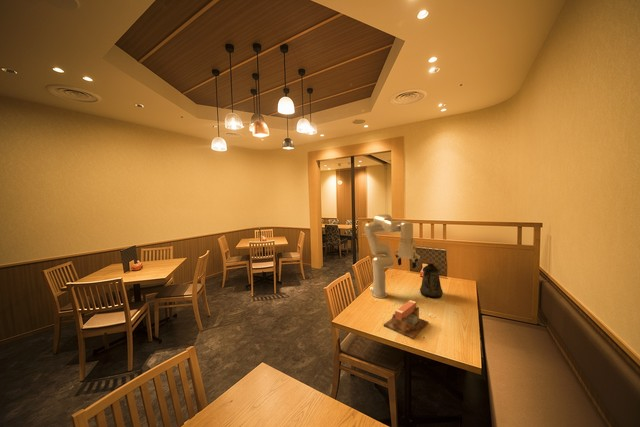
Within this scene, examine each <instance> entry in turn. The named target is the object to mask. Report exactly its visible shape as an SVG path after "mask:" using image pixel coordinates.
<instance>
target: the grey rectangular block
mask: <svg viewBox="0 0 640 427" xmlns="http://www.w3.org/2000/svg"><path fill="white" fill-rule="evenodd" d="M407 323H408V324H411V325H413V326H416V325H417V316H414V315H412V314H410V315H408V316H407Z"/></svg>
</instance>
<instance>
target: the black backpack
mask: <svg viewBox="0 0 640 427" xmlns="http://www.w3.org/2000/svg"><path fill="white" fill-rule="evenodd" d="M422 272H423V273H422V280H421V285H420V288H419V291H420V295H421V296H423V297H424V298H428V299H433V300H437V299H442V298H443V294H444V292H443V289H442V285H441V279H440V269H439V268H438V267H437V266H435V264H434V263H427V265H426V266H424V267H423V268H422Z"/></svg>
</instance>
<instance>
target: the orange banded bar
mask: <svg viewBox="0 0 640 427" xmlns="http://www.w3.org/2000/svg"><path fill="white" fill-rule="evenodd" d="M415 308H417V301H414V300H411V299H410V300H407V302H406V303H404V304H403V305H402V306H400V307H399V308H397V309H395V310H394V314H395V319H398V320H400V321H402V320H403V318H404V317H407V316H408V315H410V314H411V313H412V312H413V311H414V310H415Z"/></svg>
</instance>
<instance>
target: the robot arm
mask: <svg viewBox="0 0 640 427" xmlns="http://www.w3.org/2000/svg"><path fill="white" fill-rule="evenodd" d="M363 228H364V229H363V230H364V235H365V236H366V239H367V242H368V246H369V249H370V253H371V254H372V256H374V257H373V258H372V260H371V264H372V270H373V272H372V273H373V275H372V278H373V284H372V286H370V287H369V291H371V296H372V297H374V298H378V299H385V298H387V297H388V292H387V291H386V272H385V271H384V269H386V268H392V267H393V266H394V262H395V261H394V257H393V254H394V256H395V258H396V259H397V265H398V266H401V265H402V258H403V259H408V260H412V266H411V267H412V269H416V267H417V263H418V261H419V260H420V258H421V255H419V254H418V253H417V252H416V245H415V242H416V240H415V239H414V224H413V222H411V221H405V220H393V217H392V216H391V215H390V214H385V213H384V214H377V215H375V216H374V217H373V222H368V223H367V222H366V223H365V225H364V227H363ZM385 231H386V232H389V233H400V242H399V245H398V250H397V251H394V252H393V253H392V250H391V247H390V245H389V244H388V243H387V242H380V239H379V237H378V236H377V235H376V233H383V232H385Z"/></svg>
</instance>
